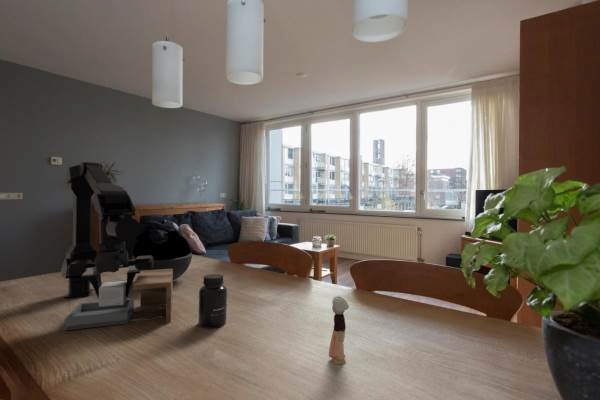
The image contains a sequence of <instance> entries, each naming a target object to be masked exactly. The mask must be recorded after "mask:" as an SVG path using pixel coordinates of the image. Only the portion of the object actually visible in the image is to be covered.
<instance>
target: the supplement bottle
mask: <svg viewBox="0 0 600 400" xmlns="http://www.w3.org/2000/svg"><path fill="white" fill-rule="evenodd" d="M223 284H224V275H223V274H221V273H212V274H206V275H203V281H202V285H203V286H201V287H200V289H199V290H198V291H199V292H198V325H199V326H200V327H201V328H205V329H216V328H220V327H222V326H224V325H225V324H226V322H227V316H228V315H227V314H228V313H227V312H228V308H227V307H228V289H227V287H226V286H225V285H223Z"/></svg>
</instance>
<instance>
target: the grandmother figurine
mask: <svg viewBox="0 0 600 400" xmlns="http://www.w3.org/2000/svg"><path fill="white" fill-rule="evenodd" d="M349 308H350V305H349V303H348V302H347V300H346V299H345V298H344V297H342V296H341V295H335V296H334V297H333V299H332V312H333V313H334V317H333V330H332V333H331V334H332V335H331V338H330V343H329V349H328V357H329V358H332V359H331V363H332V364H333V363H334V364H333V365H344V363H345V364H346V363H347V361H346V358H345V357H346V355H345V347H344V346H345V345H344V341H345V337H346V336H345V335H346V328H347V327H346V319H345V314H344V313H345V311H348V310H349Z"/></svg>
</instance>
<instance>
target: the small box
mask: <svg viewBox="0 0 600 400" xmlns="http://www.w3.org/2000/svg"><path fill="white" fill-rule="evenodd" d="M126 283H127V280H122V281H120V280H119V281H107V282H103V284H102V286H101V287H100V288H99V298H98V302H99V307H103V306H115V305H123V304H124V303H125V301H126V300H127V299H128V297H126Z"/></svg>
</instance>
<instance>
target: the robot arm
mask: <svg viewBox="0 0 600 400" xmlns="http://www.w3.org/2000/svg"><path fill="white" fill-rule="evenodd" d="M64 173H65V174H64V182H65V183H66V188H67V190H68V192H69V194H71V196H72V199H73V200H72V207H73V209H72V244H71V245H70V246H69V248H68V249H67V251H65V252H66V254H65V258H64V259H63V262H62V265H61V269H60V275H61V277H62V278H63V279H65V280H66V279H68V290H67V291H68V292H67V293H66V294H65V295H64V297H63V298H64V299H69V298H80V297H81V298H82V297H89V296H90V295H91V294H92V293H93V292H95V294H96V296H97V299H99V288H100V287H101V286H102V285H103V284H102V276H101V275H102V274H103V273H116V272H118V271H119V270H120V269H124V268H128V271H127V272H126V281H127V283H126V297H127V298H129V294H130V292H131V287H133V284H134V282H133V281H134V279H135V277H136V275H138V273H140V272H141V270H148V269H152V268H153V265H154V258H153V257H152V256H151V255H149V256H138V257H137V258H136V259H135V260H132V259H129V252H128V251H129V250H126V242H132V241H134V240H137V239H136V238H137V237H138V236H139V235H141V234H140V233H141V231H142V230H141V229H142V227H141V225H140V223H139V221H138V220H137V219H135V218H134V216H135V215H136V212H135V211H136V208H135V206H134V204H133V201H132V198H131V197H130V194H129V193H128V192H127V191H126V190H125V189H124V188H123V187H122V186H119V185H115V184H114V182H113V181H112V180H111V178H109V176H108V175H107V173H106V171H105V170H104V168H103V164H102V163H100V162H96V161H95V162H94V161H93V162H92V161H83V162H82V161H81V162H80V163H79V164H77V165H74V166H70V167H68V168H67V170H66V171H65V172H64ZM92 198H93V200H92ZM92 201H93V207H94V209H95V211H96V213H97V215H98V222H99V225H98V226H99V227H98V228H99V246H98V252H97V250H96V249H95V248H94V246H93V245H92V244H91V240H92V239H91V236H92V235H91V232H92V230H91V228H92V227H91V226H92V222H91V221H92ZM91 286H92V287H93V288H91Z"/></svg>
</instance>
